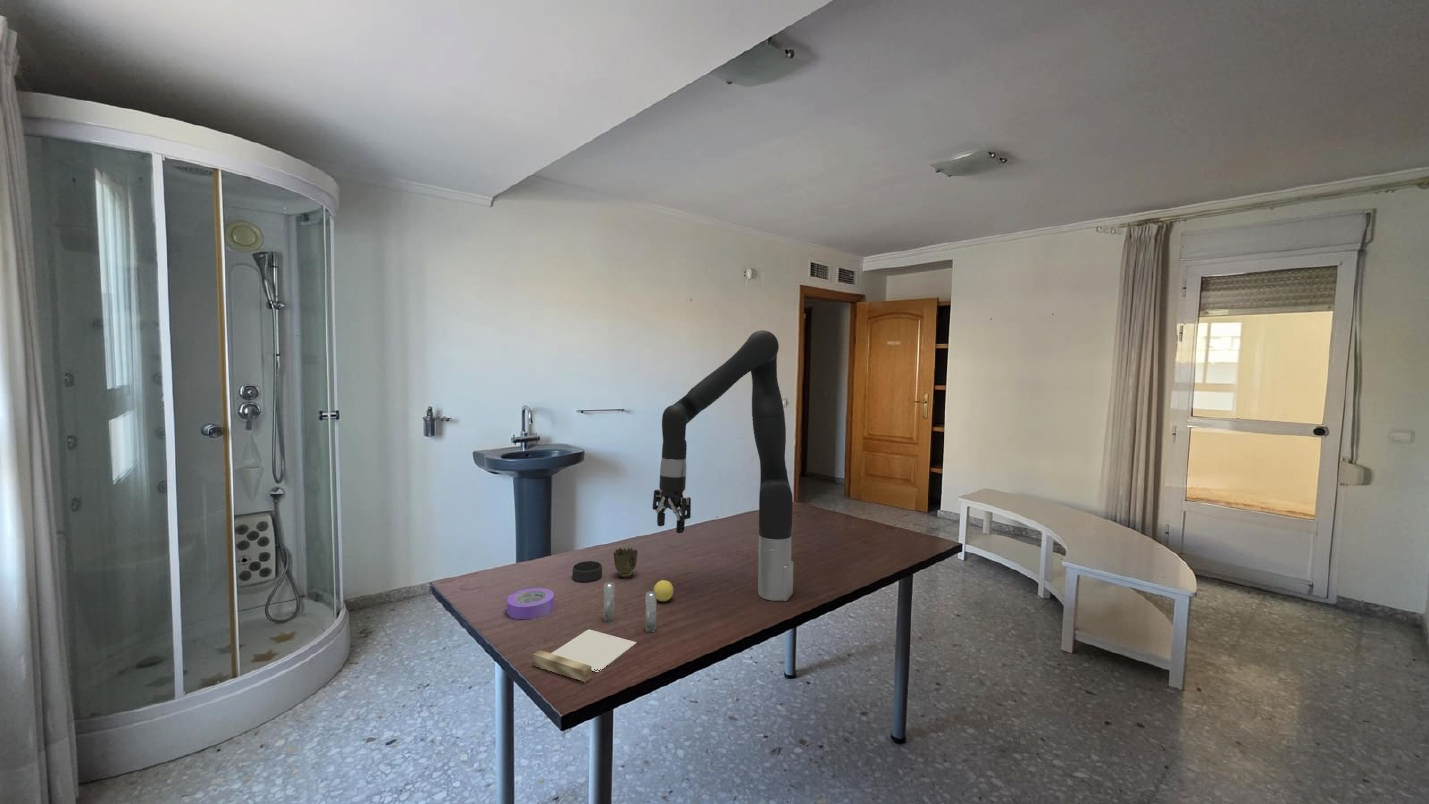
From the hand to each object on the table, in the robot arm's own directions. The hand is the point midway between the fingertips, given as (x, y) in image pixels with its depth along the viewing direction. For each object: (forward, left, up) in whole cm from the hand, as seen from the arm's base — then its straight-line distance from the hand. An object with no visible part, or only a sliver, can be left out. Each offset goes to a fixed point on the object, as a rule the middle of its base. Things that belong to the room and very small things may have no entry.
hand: (670, 529), depth 149 cm
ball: (-2, +7, -15) cm, 17 cm away
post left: (+4, +23, -18) cm, 29 cm away
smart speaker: (+28, +3, -18) cm, 34 cm away
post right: (-8, +23, -18) cm, 30 cm away
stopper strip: (-2, +47, -18) cm, 50 cm away
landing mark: (-2, +37, -18) cm, 41 cm away
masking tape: (+26, +28, -19) cm, 42 cm away
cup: (+18, -3, -18) cm, 26 cm away
